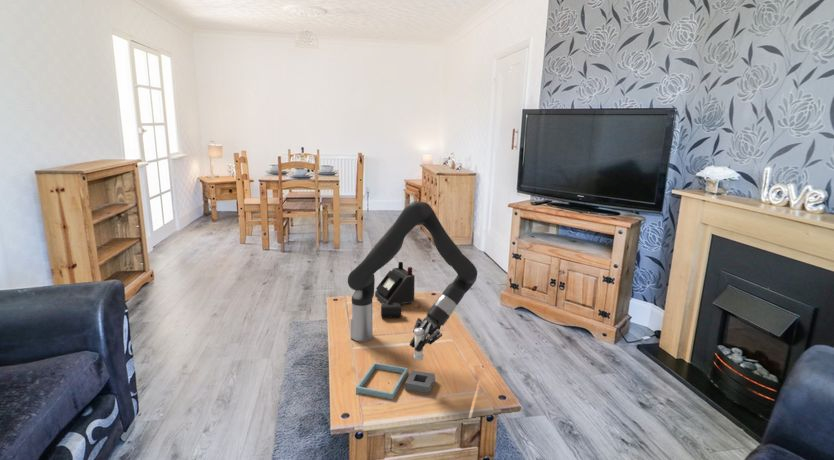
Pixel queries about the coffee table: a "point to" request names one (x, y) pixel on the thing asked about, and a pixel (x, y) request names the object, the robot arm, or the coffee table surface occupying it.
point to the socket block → (420, 382)
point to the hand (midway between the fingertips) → (414, 348)
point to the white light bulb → (418, 337)
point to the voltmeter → (397, 286)
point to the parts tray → (377, 392)
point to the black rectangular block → (390, 310)
